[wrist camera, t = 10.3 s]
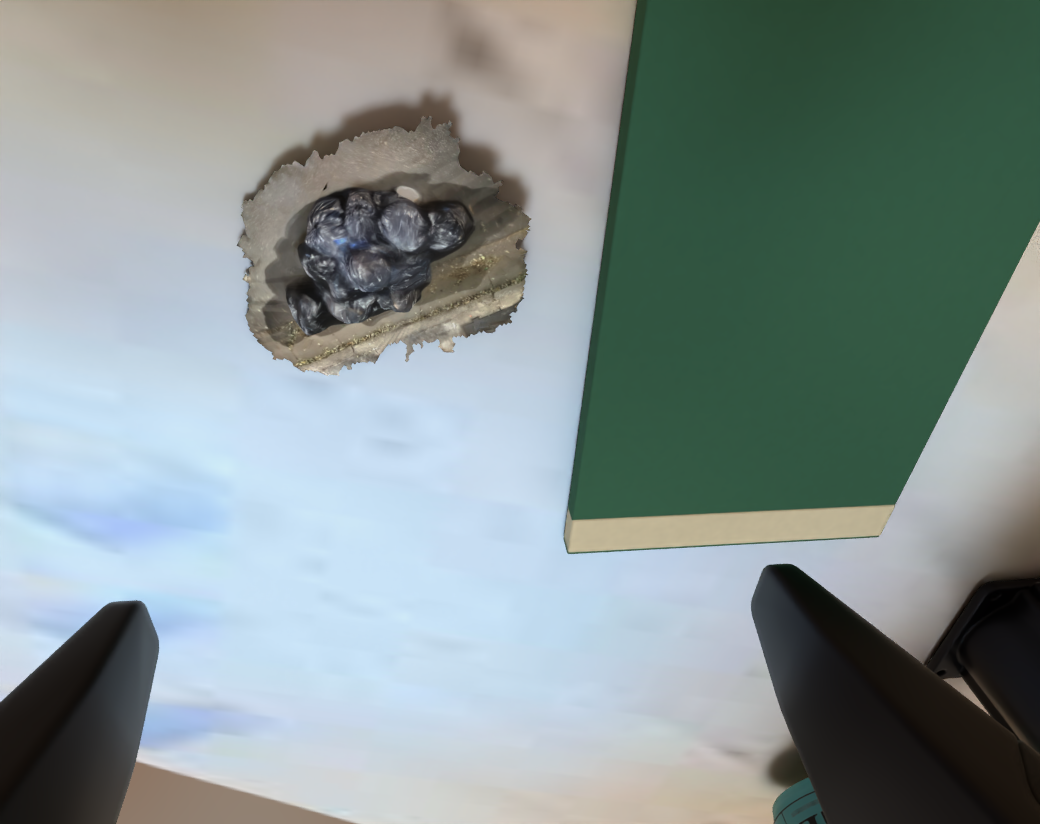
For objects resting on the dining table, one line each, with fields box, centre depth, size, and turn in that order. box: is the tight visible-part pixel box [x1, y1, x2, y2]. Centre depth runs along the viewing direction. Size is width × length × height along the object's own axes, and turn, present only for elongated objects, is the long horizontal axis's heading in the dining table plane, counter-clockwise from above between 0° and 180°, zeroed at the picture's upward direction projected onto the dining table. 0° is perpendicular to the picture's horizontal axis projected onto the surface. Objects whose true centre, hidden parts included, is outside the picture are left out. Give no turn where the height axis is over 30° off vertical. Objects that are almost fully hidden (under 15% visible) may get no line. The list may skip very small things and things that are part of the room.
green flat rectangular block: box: [564, 0, 1040, 554], centre depth 19 cm, size 20×12×1 cm, turn 176°
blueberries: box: [237, 116, 531, 376], centre depth 17 cm, size 7×8×2 cm
